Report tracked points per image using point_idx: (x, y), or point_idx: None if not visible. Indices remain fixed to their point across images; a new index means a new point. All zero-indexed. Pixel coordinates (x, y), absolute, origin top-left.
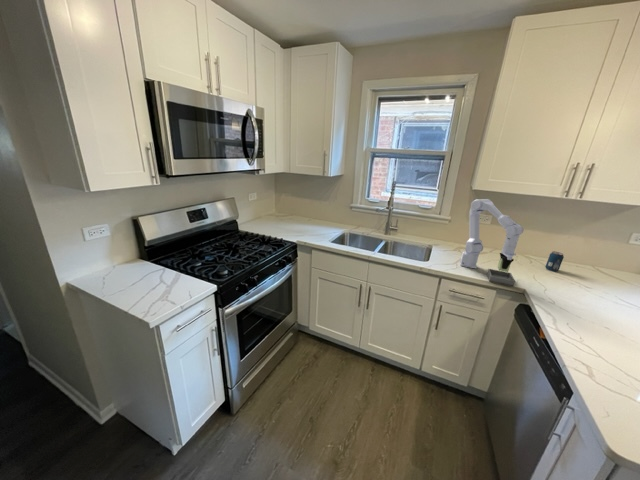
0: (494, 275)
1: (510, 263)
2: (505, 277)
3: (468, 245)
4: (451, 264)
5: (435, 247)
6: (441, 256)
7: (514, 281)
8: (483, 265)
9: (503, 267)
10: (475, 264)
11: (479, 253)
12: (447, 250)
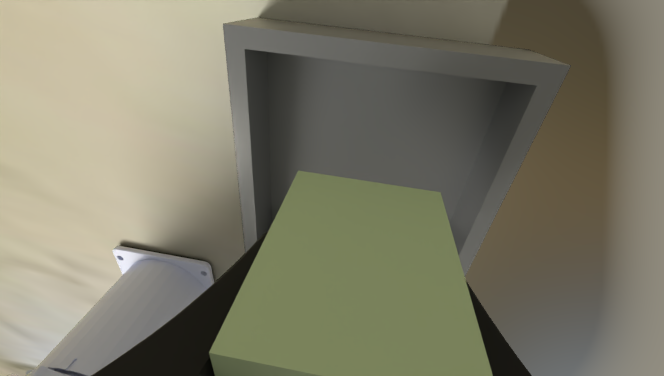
0: None
1: (488, 373)
2: (307, 88)
3: None
4: None
5: (24, 357)
6: None
7: (563, 74)
8: (78, 190)
9: None
10: (174, 288)
11: (44, 372)
12: (6, 322)
